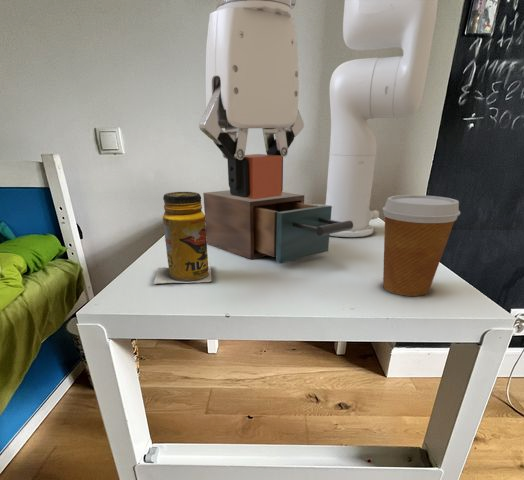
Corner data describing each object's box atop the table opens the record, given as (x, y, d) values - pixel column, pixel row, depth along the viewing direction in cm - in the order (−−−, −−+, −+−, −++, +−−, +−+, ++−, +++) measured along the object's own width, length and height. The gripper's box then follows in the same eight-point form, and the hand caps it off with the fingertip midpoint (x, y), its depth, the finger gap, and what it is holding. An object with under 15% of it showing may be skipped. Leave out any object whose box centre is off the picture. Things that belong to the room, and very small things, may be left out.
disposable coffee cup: (358, 281, 58) (369, 196, 52) (411, 274, 61) (427, 193, 55) (398, 304, 50) (416, 207, 44) (456, 295, 53) (480, 203, 47)
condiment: (211, 282, 58) (206, 196, 52) (153, 284, 57) (141, 197, 51) (210, 267, 64) (205, 189, 58) (158, 269, 63) (147, 190, 57)
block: (259, 191, 51) (258, 154, 48) (281, 195, 48) (282, 155, 45) (231, 195, 48) (230, 155, 46) (253, 199, 45) (252, 157, 43)
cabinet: (301, 247, 75) (304, 195, 71) (250, 259, 68) (249, 201, 64) (255, 234, 85) (255, 187, 80) (206, 243, 78) (203, 192, 74)
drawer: (357, 259, 65) (363, 211, 61) (309, 273, 59) (313, 219, 55) (278, 237, 79) (279, 197, 75) (232, 246, 72) (231, 202, 69)
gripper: (290, 18, 46) (286, 184, 55) (159, -8, 37) (181, 197, 46) (338, 4, 41) (325, 190, 50) (200, -30, 32) (215, 206, 41)
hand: (256, 192), depth 48 cm, fingers closed on block, 4 cm apart
